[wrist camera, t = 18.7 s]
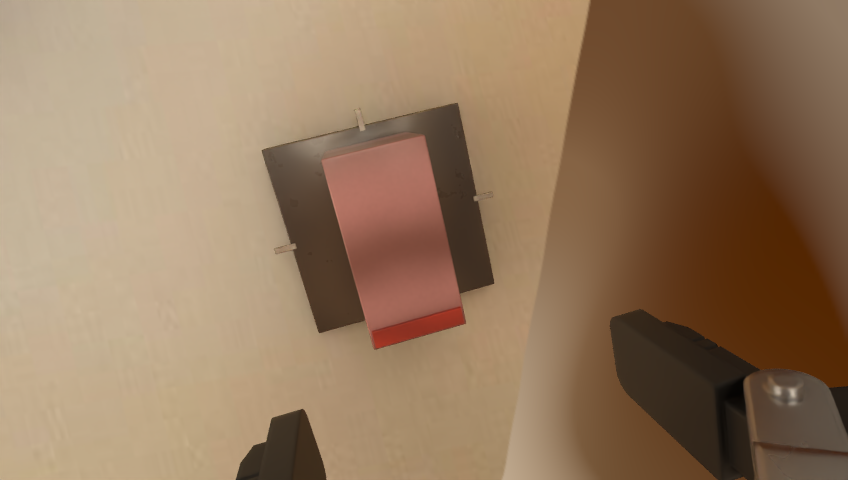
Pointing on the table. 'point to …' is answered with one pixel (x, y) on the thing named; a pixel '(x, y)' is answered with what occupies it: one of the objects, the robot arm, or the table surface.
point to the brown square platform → (318, 225)
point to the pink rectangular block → (395, 237)
